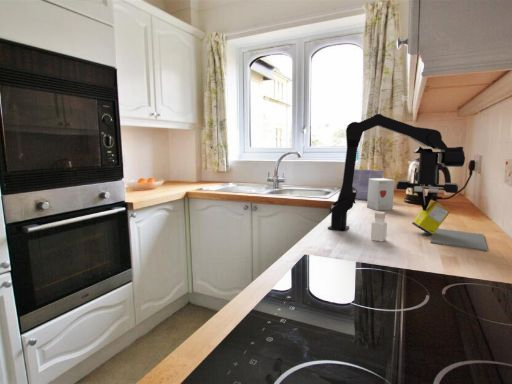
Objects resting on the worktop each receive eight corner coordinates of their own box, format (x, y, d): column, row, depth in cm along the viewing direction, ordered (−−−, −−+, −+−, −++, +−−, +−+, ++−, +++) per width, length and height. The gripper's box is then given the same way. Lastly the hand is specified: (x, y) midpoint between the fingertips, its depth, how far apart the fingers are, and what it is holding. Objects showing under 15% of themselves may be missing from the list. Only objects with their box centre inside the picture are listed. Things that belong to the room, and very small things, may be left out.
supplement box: (425, 231, 115) (444, 207, 113) (431, 236, 110) (452, 211, 107) (411, 223, 116) (429, 198, 113) (417, 227, 110) (437, 201, 108)
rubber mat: (487, 251, 94) (487, 249, 94) (430, 243, 102) (430, 241, 102) (483, 235, 111) (483, 234, 111) (434, 229, 119) (434, 228, 119)
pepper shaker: (386, 240, 105) (388, 212, 104) (381, 242, 103) (383, 214, 101) (375, 237, 108) (376, 210, 107) (370, 240, 105) (371, 212, 104)
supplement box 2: (377, 210, 152) (378, 180, 150) (366, 207, 161) (368, 178, 159) (393, 209, 154) (395, 179, 152) (381, 206, 163) (383, 177, 161)
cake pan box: (383, 200, 182) (385, 169, 179) (381, 201, 178) (383, 170, 175) (350, 197, 192) (351, 168, 189) (347, 198, 188) (349, 168, 185)
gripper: (459, 166, 110) (455, 209, 113) (402, 164, 120) (399, 204, 123) (459, 168, 101) (455, 215, 103) (397, 166, 111) (394, 209, 113)
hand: (424, 210), depth 111 cm, fingers closed
